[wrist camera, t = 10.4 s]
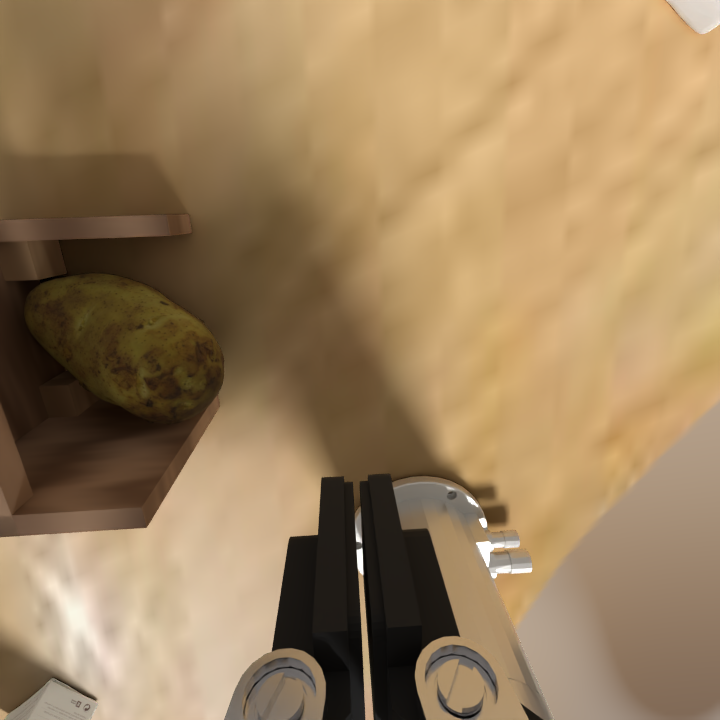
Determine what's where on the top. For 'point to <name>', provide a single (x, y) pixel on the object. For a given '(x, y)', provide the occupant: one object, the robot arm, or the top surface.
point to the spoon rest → (698, 13)
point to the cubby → (74, 405)
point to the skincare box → (55, 704)
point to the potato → (128, 344)
